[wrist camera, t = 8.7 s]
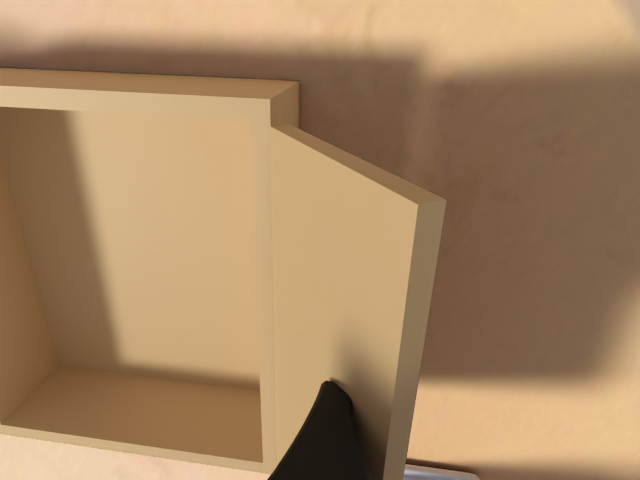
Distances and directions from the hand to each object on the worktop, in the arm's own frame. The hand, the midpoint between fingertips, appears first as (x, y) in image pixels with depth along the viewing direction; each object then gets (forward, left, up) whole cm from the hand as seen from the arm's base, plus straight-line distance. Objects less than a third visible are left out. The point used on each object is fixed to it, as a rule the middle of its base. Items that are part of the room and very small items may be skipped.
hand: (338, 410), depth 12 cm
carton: (0, +9, -8) cm, 12 cm away
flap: (0, +1, -1) cm, 1 cm away
